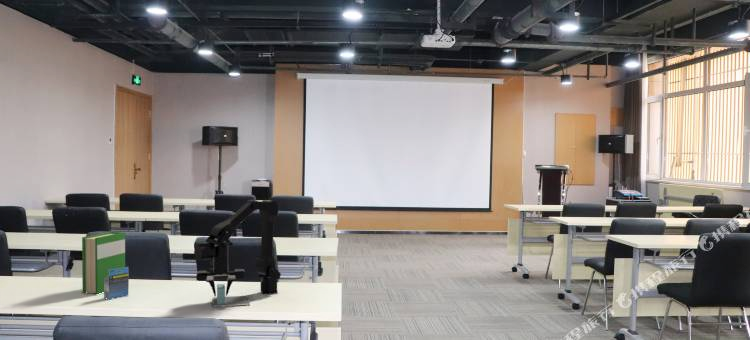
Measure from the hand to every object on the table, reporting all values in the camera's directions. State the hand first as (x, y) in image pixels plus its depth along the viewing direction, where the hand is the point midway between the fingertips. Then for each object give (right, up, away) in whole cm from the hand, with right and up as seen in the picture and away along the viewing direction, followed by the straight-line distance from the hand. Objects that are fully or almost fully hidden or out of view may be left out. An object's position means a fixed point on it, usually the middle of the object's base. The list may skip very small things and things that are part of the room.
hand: (220, 295), depth 238 cm
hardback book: (-56, -2, +20) cm, 59 cm away
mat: (+4, -3, +1) cm, 5 cm away
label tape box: (-45, -2, +7) cm, 46 cm away
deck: (0, -2, 0) cm, 2 cm away
